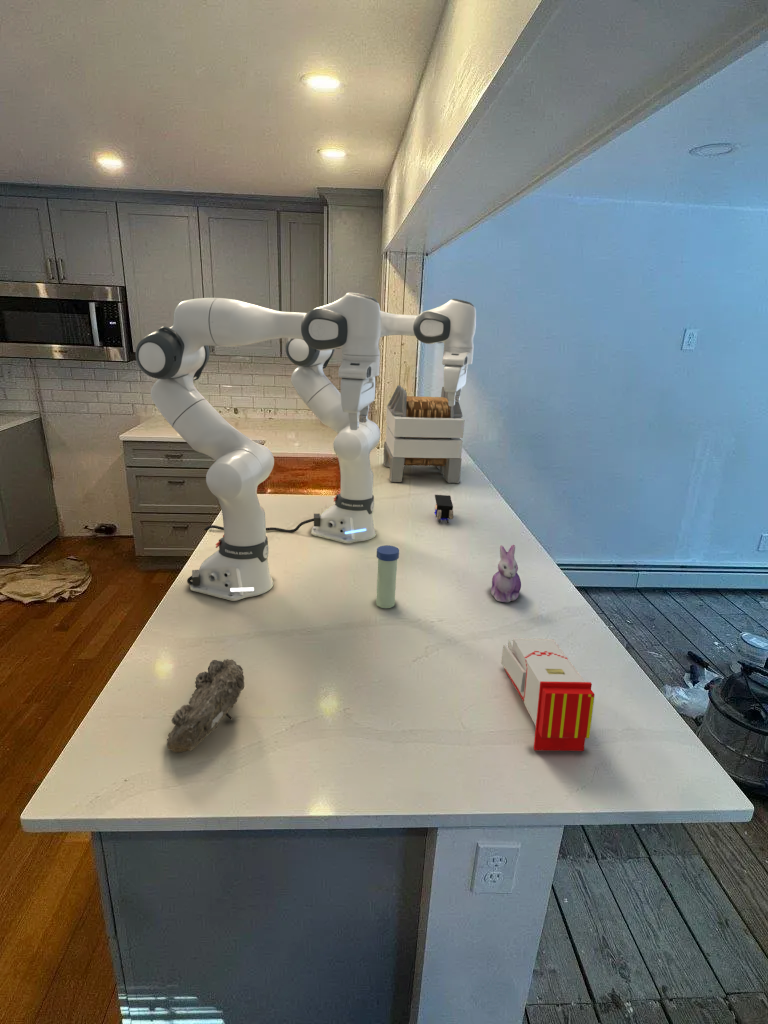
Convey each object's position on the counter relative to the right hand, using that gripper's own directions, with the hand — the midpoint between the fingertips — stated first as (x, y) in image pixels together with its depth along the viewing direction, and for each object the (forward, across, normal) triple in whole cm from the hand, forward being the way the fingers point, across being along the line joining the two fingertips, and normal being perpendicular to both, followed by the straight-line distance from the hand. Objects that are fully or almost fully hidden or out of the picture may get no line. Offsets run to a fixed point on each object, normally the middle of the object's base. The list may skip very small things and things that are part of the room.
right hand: (454, 403), depth 174 cm
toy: (+48, +73, +33) cm, 93 cm away
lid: (+32, +44, -7) cm, 55 cm away
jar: (+48, +44, -7) cm, 66 cm away
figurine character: (+48, -27, -5) cm, 55 cm away
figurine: (+48, +28, +23) cm, 60 cm away
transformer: (+48, -86, -27) cm, 102 cm away
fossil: (+48, +98, -26) cm, 112 cm away
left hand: (0, +45, -16) cm, 48 cm away
